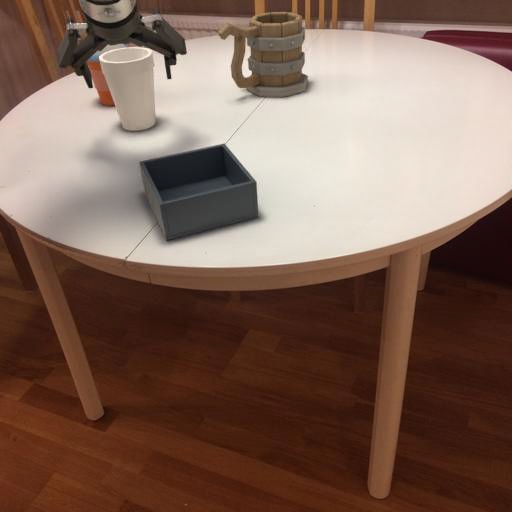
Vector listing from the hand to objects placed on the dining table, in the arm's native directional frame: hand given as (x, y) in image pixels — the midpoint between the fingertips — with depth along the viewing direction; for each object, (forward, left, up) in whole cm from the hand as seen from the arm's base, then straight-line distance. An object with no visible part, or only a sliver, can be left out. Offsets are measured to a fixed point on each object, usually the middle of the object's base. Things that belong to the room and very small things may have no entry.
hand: (129, 76), depth 92 cm
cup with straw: (-1, +19, -11) cm, 22 cm away
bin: (+3, -30, -10) cm, 32 cm away
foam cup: (+1, +4, -11) cm, 11 cm away
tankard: (+29, +9, -11) cm, 32 cm away
